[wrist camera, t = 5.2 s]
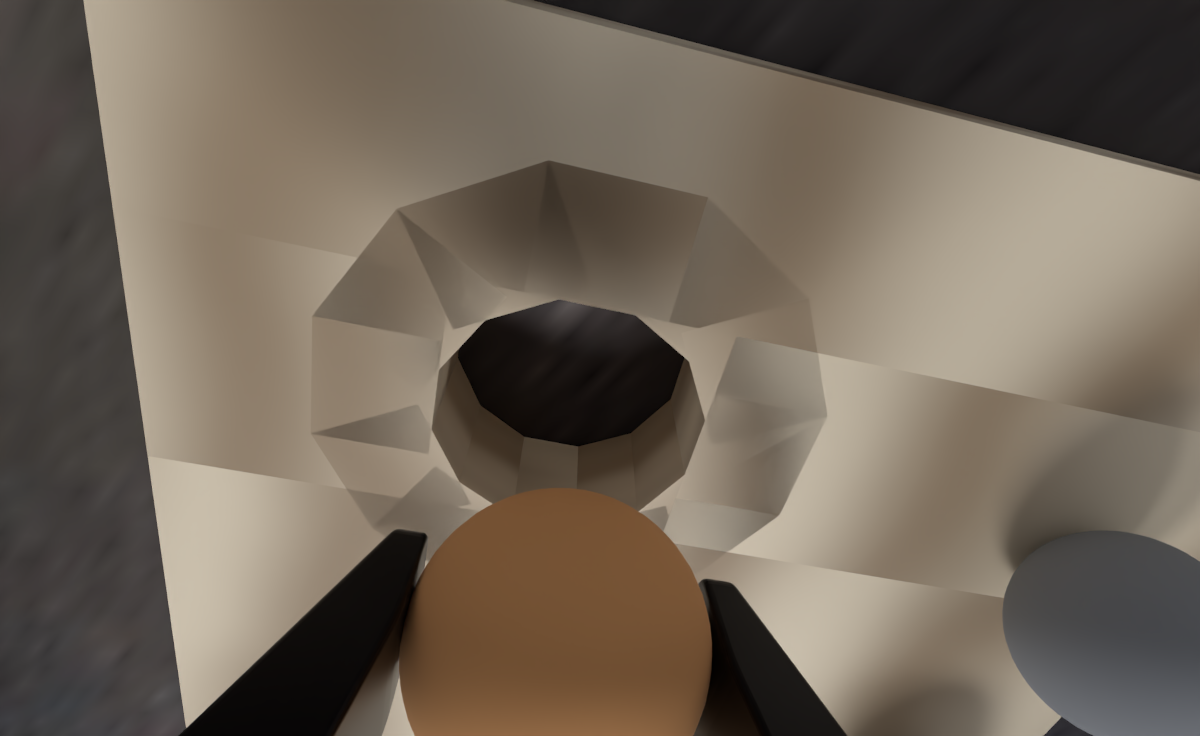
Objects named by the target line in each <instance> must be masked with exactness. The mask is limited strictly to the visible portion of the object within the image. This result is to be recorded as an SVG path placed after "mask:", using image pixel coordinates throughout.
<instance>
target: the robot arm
mask: <svg viewBox="0 0 1200 736" xmlns="http://www.w3.org/2000/svg"><path fill="white" fill-rule="evenodd" d="M427 546H428V536H427V535H426V534H425V533H423V532H417V531H411V530H405V529H396V530H393V531H392V532H391V533H390V534H389V535H387V536H386V537H385V538H384V539H383V540H382V541H381V542H380V543H379V544H378V545H377V546H376V547H375V548H374V549H373V550H372V551H371V552H370V553H369V554H368V555H367V556H366V557H364V558H363V559H362V560H361V561H360V562H359V563H358V564H357V565H356V566H355V567H354V568H353V569H352V570H351V571H350V572H349V573H348V574H347V575H346V576H345V577H344V578H343V579H342V580H340V581H339V582H338V583H337V584H336V585H335V586H334V587H333V588H332V589H331V590H330V591H329V592H328V593H327V594H326V595H325V596H324V597H323V598H322V599H321V600H320V601H319V602H318V603H316V604H315V605H314V606H313V607H312V608H311V609H310V610H309V611H308V612H307V613H306V614H305V615H304V616H303V617H302V618H301V619H300V620H299V621H298V622H297V623H296V624H295V625H294V626H292V627H291V628H290V629H289V630H288V631H287V632H286V633H285V634H284V635H283V636H282V637H281V638H280V639H279V640H278V641H277V642H276V643H275V644H274V645H273V646H272V647H271V648H270V649H268V650H267V651H266V652H265V653H264V654H263V655H262V656H261V657H260V658H259V659H258V660H257V661H256V662H255V663H254V664H253V665H252V666H251V667H250V668H249V669H248V670H247V671H245V672H244V673H243V674H242V675H241V676H240V677H239V678H238V679H237V680H236V681H235V682H234V683H233V684H232V685H231V686H230V687H229V688H228V689H227V690H226V691H225V692H224V693H223V694H221V695H220V696H219V697H218V698H217V699H216V700H215V701H214V702H213V703H212V704H211V705H210V706H209V707H208V708H207V709H206V710H205V711H204V712H203V713H202V714H201V715H200V716H199V717H197V718H196V719H195V720H194V721H193V722H192V723H191V724H190V725H189V726H188V727H187V728H186V729H185V730H184V731H183V732H182V733H181V734H180V735H179V736H382V734H383V731H384V728H385V725H386V722H387V720H388V716H389V713H390V709H391V706H392V702H393V699H394V695H395V691H396V687H397V683H398V679H399V651H400V643H401V637H402V631H403V626H404V622H405V618H406V614H407V610H408V606H409V603H410V599H411V597H412V594H413V591H414V588H415V586H416V584H417V582H418V579H419V577H420V576H421V574H422V572H423V570H424V568H425V561H426V553H427ZM698 585H699V587H700V590H701V592H702V594H703V598H704V601H705V605H706V609H707V613H708V618H709V622H710V629H711V638H712V670H711V678H710V684H709V689H708V694H707V699H706V704H705V707H704V709H703V712H702V715H701V718H700V720H699V723H698V726H697V728H696V731H695V733H694V735H693V736H847V734H846V733H845V732H844V730H843V729H842V728H841V726H840V725H839V724H838V722H837V721H836V720H835V718H834V717H833V716H832V714H831V713H830V712H829V710H828V709H827V708H826V706H825V705H824V704H823V702H822V701H821V700H820V698H819V697H818V696H817V694H816V693H815V691H814V690H813V689H812V687H811V686H810V685H809V683H808V682H807V681H806V679H805V678H804V677H803V675H802V674H801V673H800V671H799V670H798V669H797V667H796V666H795V665H794V663H793V662H792V661H791V659H790V658H789V657H788V655H787V654H786V653H785V651H784V650H783V649H782V647H781V646H780V645H779V643H778V642H777V641H776V639H775V638H774V637H773V635H772V634H771V633H770V631H769V630H768V629H767V627H766V626H765V625H764V623H763V622H762V621H761V619H760V618H759V617H758V615H757V614H756V613H755V611H754V610H753V609H752V607H751V606H750V605H749V603H748V602H747V601H746V599H745V598H744V597H743V595H742V594H741V593H740V591H739V590H738V589H737V587H736V586H735V585H733V584H732V583H730V582H726V581H720V580H714V579H707V578H706V579H703V580H701V581H700V582H699V584H698Z"/></svg>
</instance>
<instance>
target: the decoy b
mask: <svg viewBox="0 0 1200 736" xmlns="http://www.w3.org/2000/svg"><path fill="white" fill-rule="evenodd" d="M1002 620H1003V630H1004V635H1005V640H1006V642H1007V645H1008V648H1009V651H1010V654H1011V656H1012V659H1013V661H1014V662H1015V664H1016V666H1017V668H1018V670H1019V671H1020V673H1021V675H1022V676H1023V678H1024V679H1025V680H1026V682H1027V683H1028V685H1029V686H1030V687H1031V688H1032V690H1033V691H1034V692H1035V693H1036V694H1037V695H1038V696H1039V697H1040V698H1041V699H1042V700H1043V701H1044V702H1045V703H1046V704H1047V705H1048V706H1049V707H1050V708H1051V709H1052V710H1054V711H1055V712H1056V713H1057V714H1059V715H1060V716H1061V717H1063V718H1064V719H1066V720H1067V721H1069V722H1070V723H1072V724H1073V725H1075V726H1076V727H1078V728H1080V729H1081V730H1083V731H1085V732H1087V733H1089V734H1091V735H1093V736H1200V561H1198V560H1197V559H1195V558H1194V557H1192V556H1190V555H1189V554H1187V553H1185V552H1184V551H1181V550H1179V549H1177V548H1175V547H1173V546H1171V545H1169V544H1166V543H1164V542H1161V541H1158V540H1156V539H1153V538H1150V537H1146V536H1142V535H1138V534H1133V533H1128V532H1121V531H1108V530H1096V531H1085V532H1079V533H1073V534H1069V535H1065V536H1062V537H1059V538H1057V539H1054V540H1052V541H1050V542H1048V543H1046V544H1044V545H1042V546H1041V547H1039V548H1038V549H1036V550H1035V551H1033V552H1032V553H1031V554H1030V555H1029V556H1027V557H1026V558H1025V559H1024V561H1023V562H1022V563H1021V564H1020V565H1019V566H1018V568H1017V569H1016V571H1015V572H1014V573H1013V575H1012V577H1011V579H1010V581H1009V584H1008V586H1007V589H1006V592H1005V595H1004V601H1003V609H1002Z"/></svg>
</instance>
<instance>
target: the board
mask: <svg viewBox="0 0 1200 736" xmlns="http://www.w3.org/2000/svg"><path fill="white" fill-rule="evenodd" d="M84 7H85V14H86V21H87V28H88V36H89V43H90V50H91V57H92V64H93V71H94V78H95V85H96V92H97V99H98V106H99V114H100V121H101V128H102V135H103V142H104V149H105V156H106V163H107V170H108V177H109V185H110V192H111V199H112V206H113V213H114V220H115V227H116V234H117V241H118V248H119V255H120V263H121V270H122V277H123V284H124V291H125V298H126V305H127V312H128V319H129V326H130V334H131V341H132V348H133V355H134V362H135V369H136V376H137V383H138V390H139V397H140V404H141V412H142V419H143V426H144V433H145V440H146V447H147V454H148V461H149V468H150V475H151V483H152V490H153V497H154V504H155V511H156V518H157V525H158V532H159V539H160V546H161V553H162V561H163V568H164V575H165V582H166V589H167V596H168V603H169V610H170V617H171V624H172V632H173V639H174V646H175V653H176V660H177V667H178V674H179V681H180V688H181V695H182V702H183V710H184V717H185V724H186V728H187V727H188V726H189V725H190V724H191V723H192V722H193V721H194V720H195V719H196V718H197V717H199V716H200V715H201V714H202V713H203V712H204V711H205V710H206V709H207V708H208V707H209V706H210V705H211V704H212V703H213V702H214V701H215V700H216V699H217V698H218V697H219V696H220V695H221V694H223V693H224V692H225V691H226V690H227V689H228V688H229V687H230V686H231V685H232V684H233V683H234V682H235V681H236V680H237V679H238V678H239V677H240V676H241V675H242V674H243V673H244V672H245V671H247V670H248V669H249V668H250V667H251V666H252V665H253V664H254V663H255V662H256V661H257V660H258V659H259V658H260V657H261V656H262V655H263V654H264V653H265V652H266V651H267V650H268V649H270V648H271V647H272V646H273V645H274V644H275V643H276V642H277V641H278V640H279V639H280V638H281V637H282V636H283V635H284V634H285V633H286V632H287V631H288V630H289V629H290V628H291V627H292V626H294V625H295V624H296V623H297V622H298V621H299V620H300V619H301V618H302V617H303V616H304V615H305V614H306V613H307V612H308V611H309V610H310V609H311V608H312V607H313V606H314V605H315V604H316V603H318V602H319V601H320V600H321V599H322V598H323V597H324V596H325V595H326V594H327V593H328V592H329V591H330V590H331V589H332V588H333V587H334V586H335V585H336V584H337V583H338V582H339V581H340V580H342V579H343V578H344V577H345V576H346V575H347V574H348V573H349V572H350V571H351V570H352V569H353V568H354V567H355V566H356V565H357V564H358V563H359V562H360V561H361V560H362V559H363V558H364V557H366V556H367V555H368V554H369V553H370V552H371V551H372V550H373V549H374V548H375V547H376V546H377V545H378V544H379V543H380V542H381V541H382V540H383V539H384V538H385V537H386V536H387V535H389V534H390V533H391V532H392V531H393V530H396V529H405V530H411V531H417V532H423V533H425V534H426V535H427V536H428V546H427V553H426V561H425V567H426V565H427V564H428V562H429V561H430V559H431V558H432V556H433V555H434V553H435V552H436V551H437V550H438V548H439V547H440V546H441V545H442V544H443V542H444V541H445V540H446V539H447V538H448V537H449V536H450V535H451V534H452V533H453V532H454V531H455V530H456V529H457V528H458V527H460V526H461V525H462V524H463V523H465V522H466V521H467V520H468V519H470V518H471V517H472V516H473V515H475V514H476V513H478V512H479V511H481V510H483V509H484V508H486V507H488V506H490V505H492V504H494V503H496V502H498V501H501V500H503V499H505V498H507V497H510V496H513V495H516V494H519V493H523V492H527V491H532V490H537V489H547V488H573V489H581V490H587V491H592V492H596V493H600V494H603V495H606V496H609V497H612V498H614V499H616V500H619V501H621V502H623V503H625V504H627V505H629V506H630V507H632V508H634V509H635V510H637V511H638V512H640V513H642V514H643V515H645V516H646V517H647V518H649V519H650V520H651V521H652V522H653V523H655V524H656V525H657V526H658V527H659V528H660V529H661V530H662V531H663V532H664V533H665V534H666V535H667V536H668V537H669V538H670V539H671V540H672V542H673V543H674V544H675V545H676V546H677V548H678V549H679V551H680V552H681V554H682V555H683V557H684V558H685V560H686V561H687V563H688V564H689V566H690V567H691V569H692V572H693V574H694V576H695V578H696V581H697V583H698V584H699V582H700V581H701V580H703V579H706V578H707V579H714V580H720V581H726V582H730V583H732V584H733V585H735V586H736V587H737V589H738V590H739V591H740V593H741V594H742V595H743V597H744V598H745V599H746V601H747V602H748V603H749V605H750V606H751V607H752V609H753V610H754V611H755V613H756V614H757V615H758V617H759V618H760V619H761V621H762V622H763V623H764V625H765V626H766V627H767V629H768V630H769V631H770V633H771V634H772V635H773V637H774V638H775V639H776V641H777V642H778V643H779V645H780V646H781V647H782V649H783V650H784V651H785V653H786V654H787V655H788V657H789V658H790V659H791V661H792V662H793V663H794V665H795V666H796V667H797V669H798V670H799V671H800V673H801V674H802V675H803V677H804V678H805V679H806V681H807V682H808V683H809V685H810V686H811V687H812V689H813V690H814V691H815V693H816V694H817V696H818V697H819V698H820V700H821V701H822V702H823V704H824V705H825V706H826V708H827V709H828V710H829V712H830V713H831V714H832V716H833V717H834V718H835V720H836V721H837V722H838V724H839V725H840V726H841V728H842V729H843V730H844V732H845V733H846V734H847V736H1044V735H1045V734H1046V733H1047V732H1048V731H1049V730H1050V728H1051V727H1052V726H1053V725H1054V724H1055V723H1056V722H1057V721H1058V720H1059V719H1060V718H1061V716H1060V715H1059V714H1057V713H1056V712H1055V711H1054V710H1052V709H1051V708H1050V707H1049V706H1048V705H1047V704H1046V703H1045V702H1044V701H1043V700H1042V699H1041V698H1040V697H1039V696H1038V695H1037V694H1036V693H1035V692H1034V691H1033V690H1032V688H1031V687H1030V686H1029V685H1028V683H1027V682H1026V680H1025V679H1024V678H1023V676H1022V675H1021V673H1020V671H1019V670H1018V668H1017V666H1016V664H1015V662H1014V661H1013V659H1012V656H1011V654H1010V651H1009V648H1008V645H1007V642H1006V640H1005V635H1004V630H1003V620H1002V609H1003V601H1004V595H1005V592H1006V589H1007V586H1008V584H1009V581H1010V579H1011V577H1012V575H1013V573H1014V572H1015V571H1016V569H1017V568H1018V566H1019V565H1020V564H1021V563H1022V562H1023V561H1024V559H1025V558H1026V557H1027V556H1029V555H1030V554H1031V553H1032V552H1033V551H1035V550H1036V549H1038V548H1039V547H1041V546H1042V545H1044V544H1046V543H1048V542H1050V541H1052V540H1054V539H1057V538H1059V537H1062V536H1065V535H1069V534H1073V533H1079V532H1085V531H1096V530H1108V531H1121V532H1128V533H1133V534H1138V535H1142V536H1146V537H1150V538H1153V539H1156V540H1158V541H1161V542H1164V543H1166V544H1169V545H1171V546H1173V547H1175V548H1177V549H1179V550H1181V551H1184V552H1185V553H1187V554H1189V555H1190V556H1192V557H1194V558H1195V559H1197V560H1198V561H1200V174H1196V173H1193V172H1189V171H1185V170H1181V169H1177V168H1174V167H1170V166H1166V165H1162V164H1158V163H1154V162H1151V161H1147V160H1143V159H1139V158H1135V157H1131V156H1128V155H1124V154H1120V153H1116V152H1112V151H1108V150H1105V149H1101V148H1097V147H1093V146H1089V145H1085V144H1082V143H1078V142H1074V141H1070V140H1066V139H1062V138H1059V137H1055V136H1051V135H1047V134H1043V133H1039V132H1036V131H1032V130H1028V129H1024V128H1020V127H1016V126H1013V125H1009V124H1005V123H1001V122H997V121H993V120H990V119H986V118H982V117H978V116H974V115H970V114H967V113H963V112H959V111H955V110H951V109H948V108H944V107H940V106H936V105H932V104H928V103H925V102H921V101H917V100H913V99H909V98H905V97H902V96H898V95H894V94H890V93H886V92H882V91H879V90H875V89H871V88H867V87H863V86H859V85H856V84H852V83H848V82H844V81H840V80H836V79H833V78H829V77H825V76H821V75H817V74H813V73H810V72H806V71H802V70H798V69H794V68H790V67H787V66H783V65H779V64H775V63H771V62H767V61H764V60H760V59H756V58H752V57H748V56H744V55H741V54H737V53H733V52H729V51H725V50H722V49H718V48H714V47H710V46H706V45H702V44H699V43H695V42H691V41H687V40H683V39H679V38H676V37H672V36H668V35H664V34H660V33H656V32H653V31H649V30H645V29H641V28H637V27H633V26H630V25H626V24H622V23H618V22H614V21H610V20H607V19H603V18H599V17H595V16H591V15H587V14H584V13H580V12H576V11H572V10H568V9H564V8H561V7H557V6H553V5H549V4H545V3H541V2H538V1H534V0H84ZM558 299H560V300H564V301H569V302H574V303H579V304H584V305H589V306H593V307H598V308H603V309H608V310H613V311H617V312H622V313H627V314H632V315H636V316H637V317H638V318H639V319H640V320H642V321H643V322H644V323H645V324H646V325H647V326H649V327H650V328H651V329H652V330H653V331H654V332H656V333H657V334H658V335H659V336H660V337H661V338H662V339H664V340H665V341H666V342H667V343H668V344H669V345H671V346H672V347H673V348H674V349H675V350H676V351H678V352H679V353H680V354H681V355H682V356H683V357H684V361H683V364H682V367H681V370H680V373H679V376H678V379H677V382H676V385H675V388H674V391H673V394H672V397H671V399H670V400H669V401H668V402H667V403H665V404H664V405H663V406H662V407H661V408H660V409H659V410H657V411H656V412H655V413H654V414H653V415H652V416H650V417H649V418H648V419H647V420H646V421H645V422H643V423H642V424H641V425H640V426H639V427H638V428H636V429H635V430H634V431H633V432H632V433H630V434H626V435H622V436H618V437H614V438H610V439H606V440H602V441H598V442H594V443H590V444H586V445H582V446H573V445H567V444H561V443H556V442H550V441H545V440H539V439H534V438H528V437H524V436H522V435H521V434H520V433H518V432H517V431H515V430H514V429H513V428H511V427H510V426H508V425H507V424H506V423H504V422H503V421H501V420H500V419H499V418H497V417H496V416H494V415H493V414H492V413H490V412H489V411H487V410H486V409H485V408H483V407H482V406H480V404H479V401H478V399H477V397H476V395H475V393H474V391H473V389H472V387H471V385H470V383H469V380H468V378H467V376H466V374H465V372H464V370H463V368H462V366H461V364H460V362H459V359H458V353H459V348H460V347H461V346H462V345H463V344H464V343H465V341H466V340H467V339H468V338H469V337H470V336H471V335H472V334H473V333H474V332H475V331H476V330H477V329H478V328H479V326H480V325H481V324H482V323H483V322H484V321H485V320H488V319H492V318H495V317H499V316H502V315H506V314H509V313H513V312H516V311H520V310H523V309H527V308H530V307H534V306H537V305H541V304H544V303H548V302H551V301H555V300H558ZM424 569H425V568H424ZM382 736H415V735H414V733H413V731H412V728H411V726H410V723H409V721H408V718H407V714H406V710H405V707H404V703H403V698H402V693H401V686H400V676H399V679H398V683H397V687H396V691H395V695H394V699H393V702H392V706H391V709H390V713H389V716H388V720H387V722H386V725H385V728H384V731H383V734H382Z"/></svg>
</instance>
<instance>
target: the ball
mask: <svg viewBox="0 0 1200 736" xmlns="http://www.w3.org/2000/svg"><path fill="white" fill-rule="evenodd" d="M711 670H712V638H711V629H710V622H709V618H708V613H707V609H706V605H705V601H704V598H703V594H702V592H701V590H700V587H699V585H698V583H697V581H696V578H695V576H694V574H693V572H692V569H691V567H690V566H689V564H688V563H687V561H686V560H685V558H684V557H683V555H682V554H681V552H680V551H679V549H678V548H677V546H676V545H675V544H674V543H673V542H672V540H671V539H670V538H669V537H668V536H667V535H666V534H665V533H664V532H663V531H662V530H661V529H660V528H659V527H658V526H657V525H656V524H655V523H653V522H652V521H651V520H650V519H649V518H647V517H646V516H645V515H643V514H642V513H640V512H638V511H637V510H635V509H634V508H632V507H630V506H629V505H627V504H625V503H623V502H621V501H619V500H616V499H614V498H612V497H609V496H606V495H603V494H600V493H596V492H592V491H587V490H581V489H573V488H547V489H537V490H532V491H527V492H523V493H519V494H516V495H513V496H510V497H507V498H505V499H503V500H501V501H498V502H496V503H494V504H492V505H490V506H488V507H486V508H484V509H483V510H481V511H479V512H478V513H476V514H475V515H473V516H472V517H471V518H470V519H468V520H467V521H466V522H465V523H463V524H462V525H461V526H460V527H458V528H457V529H456V530H455V531H454V532H453V533H452V534H451V535H450V536H449V537H448V538H447V539H446V540H445V541H444V542H443V544H442V545H441V546H440V547H439V548H438V550H437V551H436V552H435V553H434V555H433V556H432V558H431V559H430V561H429V562H428V564H427V565H426V567H425V569H424V570H423V572H422V574H421V576H420V577H419V579H418V582H417V584H416V586H415V588H414V591H413V594H412V597H411V599H410V603H409V606H408V610H407V614H406V618H405V622H404V626H403V631H402V637H401V643H400V651H399V676H400V686H401V693H402V698H403V703H404V707H405V710H406V714H407V718H408V721H409V723H410V726H411V728H412V731H413V733H414V735H415V736H693V735H694V733H695V731H696V728H697V726H698V723H699V720H700V718H701V715H702V712H703V709H704V707H705V704H706V699H707V694H708V689H709V684H710V678H711Z"/></svg>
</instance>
